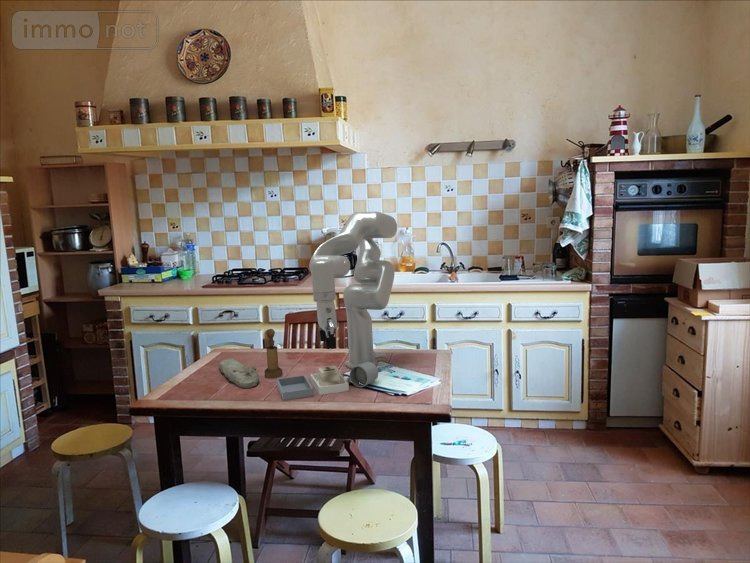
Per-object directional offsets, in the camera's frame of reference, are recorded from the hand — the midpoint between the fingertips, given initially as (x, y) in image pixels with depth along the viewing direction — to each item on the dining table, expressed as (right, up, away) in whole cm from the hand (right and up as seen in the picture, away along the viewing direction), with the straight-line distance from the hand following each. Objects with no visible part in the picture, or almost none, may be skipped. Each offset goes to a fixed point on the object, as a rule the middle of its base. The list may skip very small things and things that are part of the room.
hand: (328, 344), depth 192 cm
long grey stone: (-35, -14, +18) cm, 42 cm away
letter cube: (0, -14, +2) cm, 15 cm away
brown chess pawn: (-21, -14, +16) cm, 30 cm away
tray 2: (0, -15, +2) cm, 15 cm away
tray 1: (-11, -16, -2) cm, 20 cm away
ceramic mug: (+11, -14, +4) cm, 19 cm away
